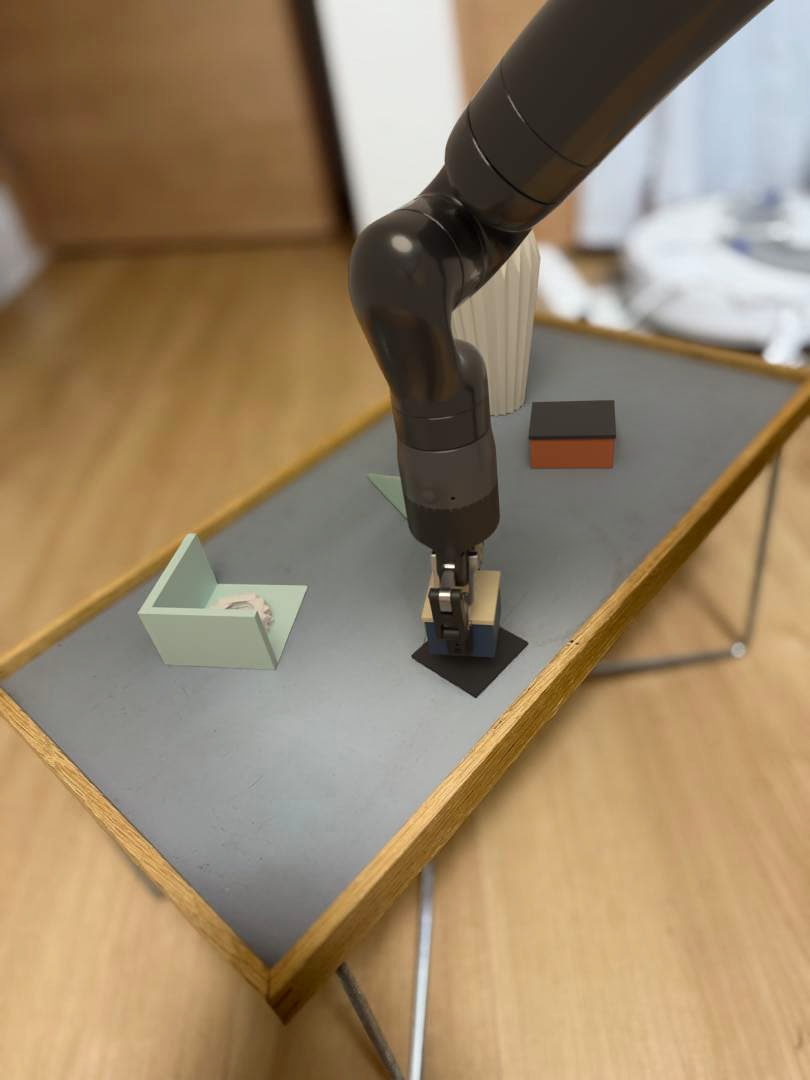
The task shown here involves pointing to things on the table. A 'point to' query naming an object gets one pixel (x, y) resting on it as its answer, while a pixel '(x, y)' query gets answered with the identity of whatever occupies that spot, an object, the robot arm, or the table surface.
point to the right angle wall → (217, 615)
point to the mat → (473, 663)
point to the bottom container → (572, 434)
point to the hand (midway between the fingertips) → (466, 624)
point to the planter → (390, 490)
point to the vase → (504, 325)
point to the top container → (473, 616)
